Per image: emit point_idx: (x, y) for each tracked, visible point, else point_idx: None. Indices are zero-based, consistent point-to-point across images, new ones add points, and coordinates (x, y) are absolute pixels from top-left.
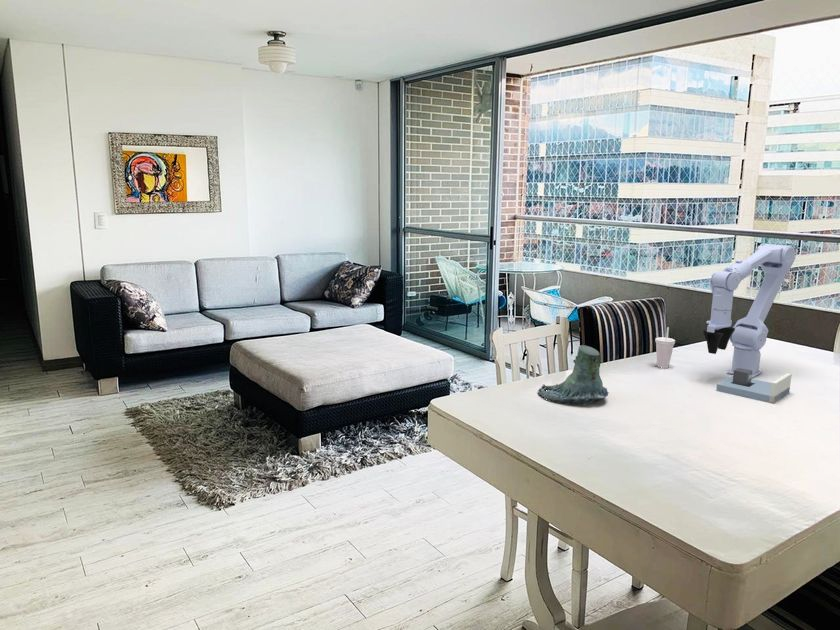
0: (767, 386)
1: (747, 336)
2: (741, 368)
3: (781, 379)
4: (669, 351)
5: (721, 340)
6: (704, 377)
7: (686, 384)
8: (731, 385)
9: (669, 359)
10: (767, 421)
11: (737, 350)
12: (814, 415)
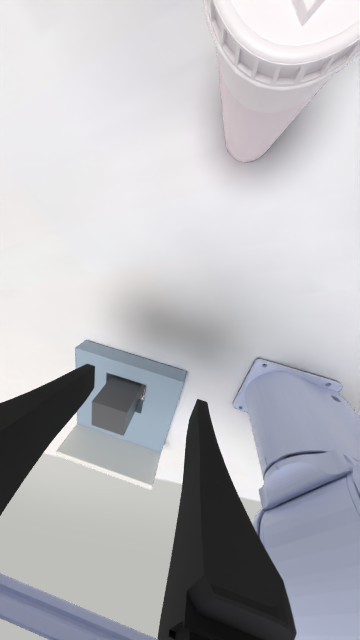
0: (133, 428)
1: (291, 576)
2: (126, 418)
3: (92, 467)
4: (235, 108)
5: (192, 454)
6: (180, 307)
7: (81, 272)
8: None
9: (243, 144)
10: (4, 401)
11: (278, 447)
12: None
